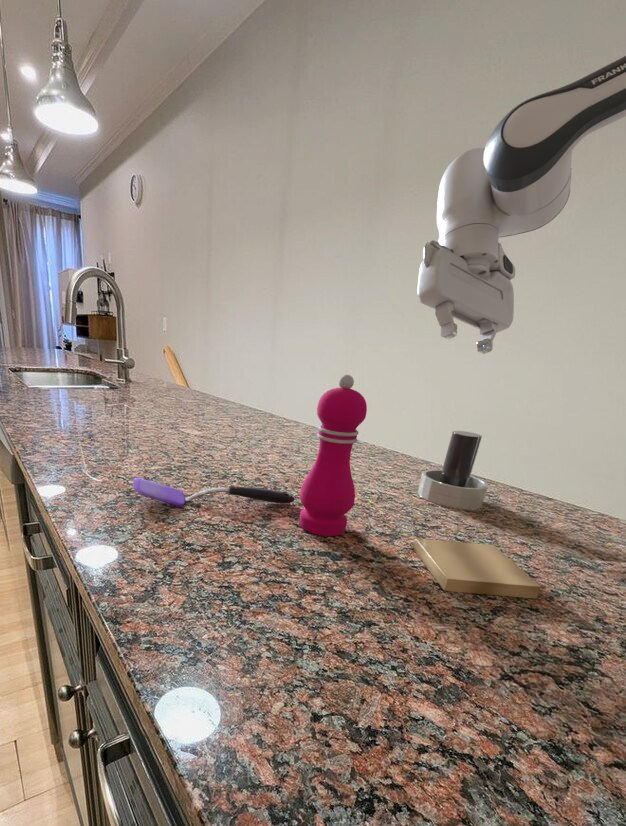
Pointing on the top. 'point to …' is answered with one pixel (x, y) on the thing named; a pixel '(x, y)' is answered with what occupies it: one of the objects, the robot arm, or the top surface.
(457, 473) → the black canister
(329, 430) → the pepper mill
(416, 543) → the board
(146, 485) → the spatula
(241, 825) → the top surface
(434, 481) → the pan
